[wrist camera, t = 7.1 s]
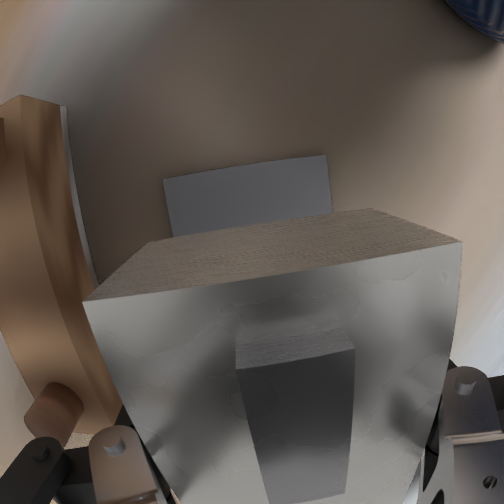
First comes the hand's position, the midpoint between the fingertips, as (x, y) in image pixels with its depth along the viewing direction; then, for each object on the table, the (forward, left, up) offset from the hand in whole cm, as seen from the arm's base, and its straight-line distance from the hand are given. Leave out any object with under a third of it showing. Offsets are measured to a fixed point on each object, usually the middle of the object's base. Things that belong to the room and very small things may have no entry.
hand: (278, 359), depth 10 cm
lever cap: (0, 0, 0) cm, 0 cm away
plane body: (-2, -13, -9) cm, 16 cm away
